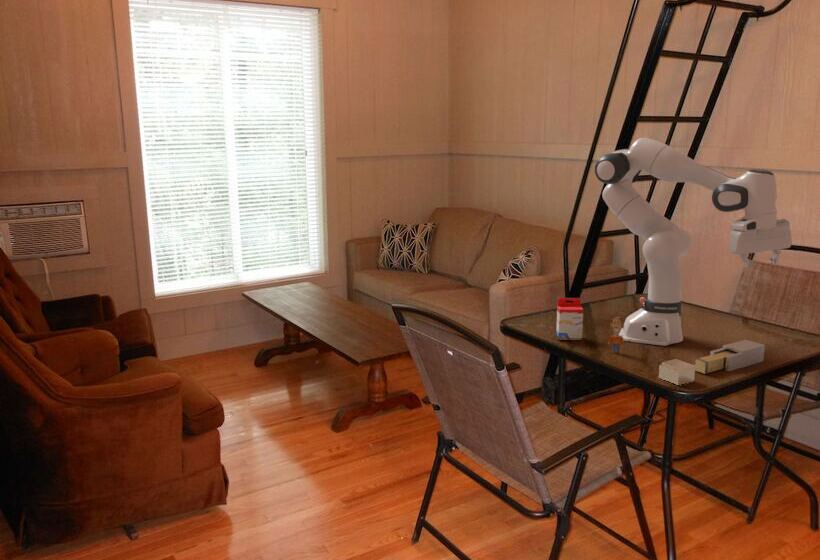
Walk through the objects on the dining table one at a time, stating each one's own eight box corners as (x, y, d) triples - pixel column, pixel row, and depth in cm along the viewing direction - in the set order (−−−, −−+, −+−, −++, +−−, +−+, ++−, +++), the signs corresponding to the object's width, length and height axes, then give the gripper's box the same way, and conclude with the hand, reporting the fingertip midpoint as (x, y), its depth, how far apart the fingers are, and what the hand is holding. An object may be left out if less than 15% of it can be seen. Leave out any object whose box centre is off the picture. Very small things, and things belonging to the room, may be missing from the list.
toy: (606, 352, 226) (608, 316, 223) (609, 350, 228) (610, 314, 225) (622, 355, 223) (624, 318, 220) (624, 352, 225) (626, 316, 223)
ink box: (558, 341, 239) (559, 301, 236) (555, 336, 244) (557, 297, 240) (582, 340, 239) (584, 301, 235) (579, 336, 243) (581, 297, 240)
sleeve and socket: (743, 355, 221) (745, 339, 219) (763, 361, 215) (765, 345, 213) (658, 378, 202) (659, 361, 200) (677, 386, 196) (679, 368, 194)
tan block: (740, 357, 217) (741, 346, 216) (750, 360, 214) (751, 349, 213) (694, 370, 207) (695, 358, 206) (704, 373, 204) (705, 362, 203)
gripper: (781, 217, 214) (781, 260, 216) (725, 224, 210) (725, 267, 213) (797, 218, 208) (796, 262, 210) (739, 226, 204) (739, 270, 206)
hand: (760, 265), depth 211 cm, fingers open, 8 cm apart
